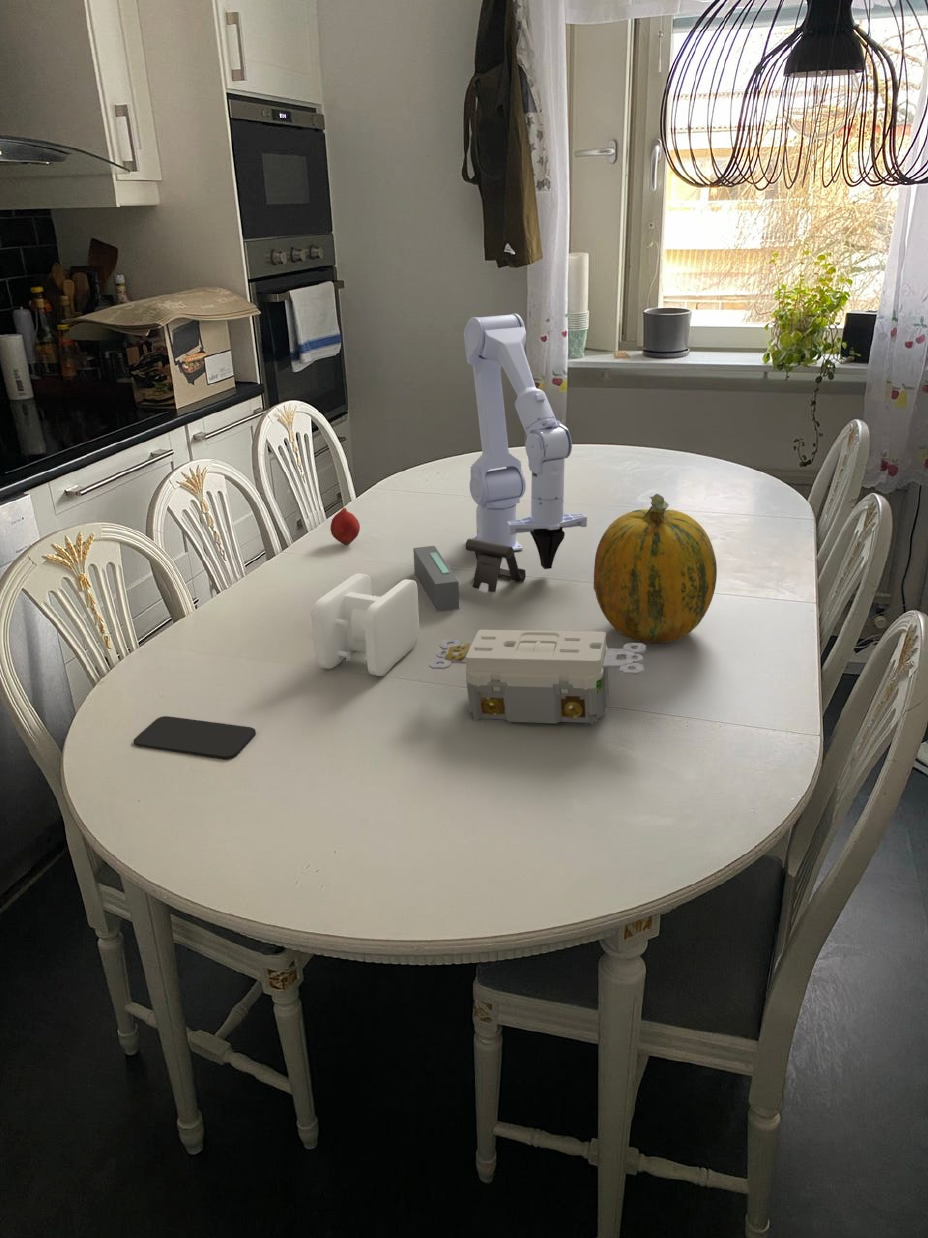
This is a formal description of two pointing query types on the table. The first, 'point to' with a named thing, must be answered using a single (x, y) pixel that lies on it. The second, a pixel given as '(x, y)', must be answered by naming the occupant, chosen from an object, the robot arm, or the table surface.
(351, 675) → the table surface
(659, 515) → the pumpkin
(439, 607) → the charging dock
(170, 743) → the phone
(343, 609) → the cable organizer
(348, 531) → the onion
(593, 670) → the electrical outlet
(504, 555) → the portable electronic device stand
